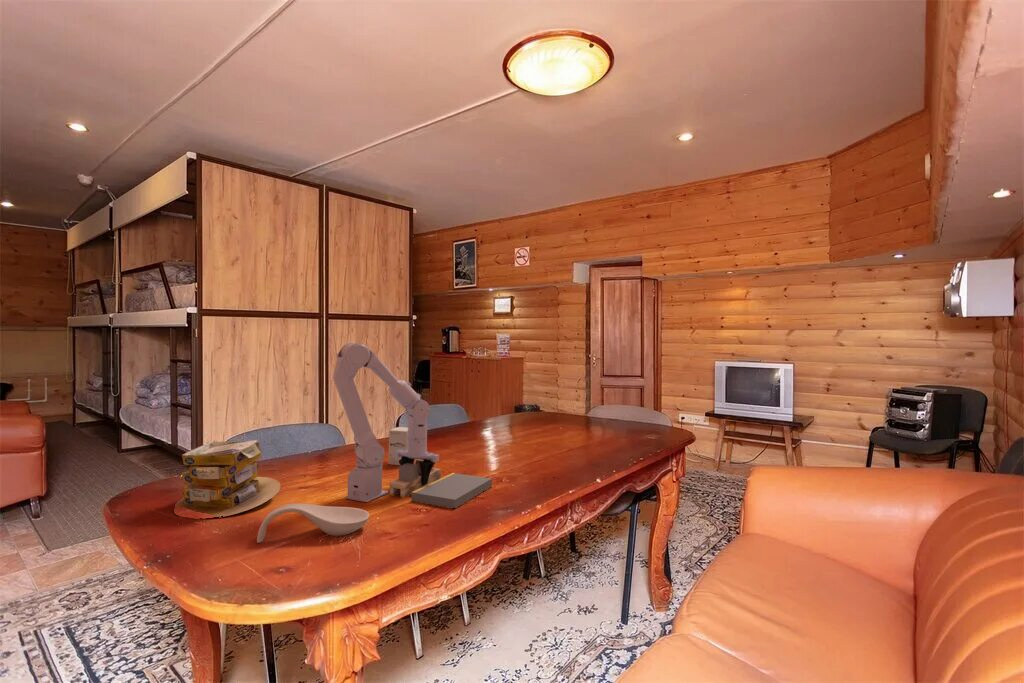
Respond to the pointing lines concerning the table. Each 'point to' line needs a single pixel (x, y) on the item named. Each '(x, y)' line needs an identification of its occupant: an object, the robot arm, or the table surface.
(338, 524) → the spoon rest
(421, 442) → the robot arm
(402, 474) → the grey cube
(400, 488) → the tan piece
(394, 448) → the supplement box
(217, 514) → the stacked yellow boxes
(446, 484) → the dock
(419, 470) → the salmon pink cube
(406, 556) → the table surface
